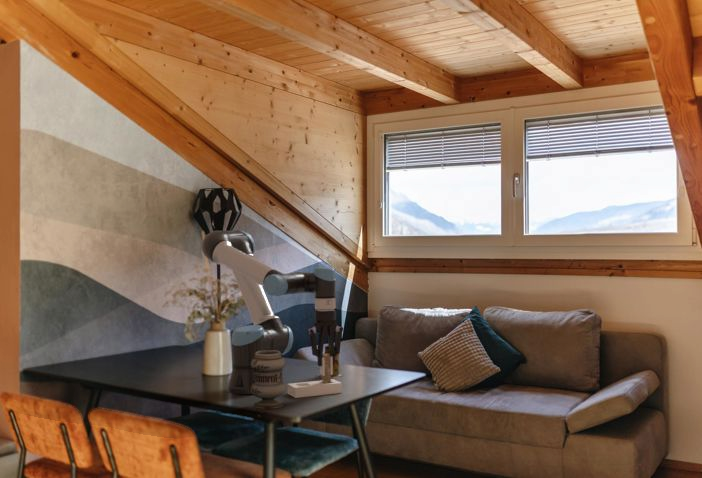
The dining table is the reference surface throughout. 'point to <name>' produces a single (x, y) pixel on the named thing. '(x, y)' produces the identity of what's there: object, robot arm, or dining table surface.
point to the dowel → (327, 369)
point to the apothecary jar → (268, 378)
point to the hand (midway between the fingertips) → (326, 374)
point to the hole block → (314, 388)
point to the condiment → (336, 365)
